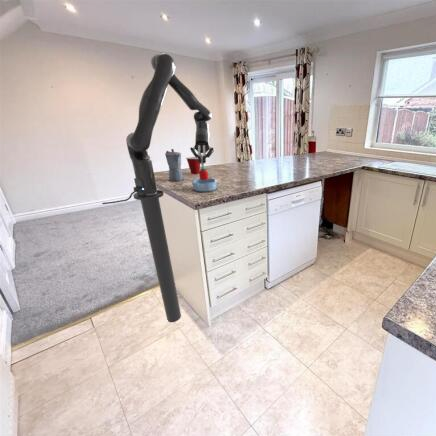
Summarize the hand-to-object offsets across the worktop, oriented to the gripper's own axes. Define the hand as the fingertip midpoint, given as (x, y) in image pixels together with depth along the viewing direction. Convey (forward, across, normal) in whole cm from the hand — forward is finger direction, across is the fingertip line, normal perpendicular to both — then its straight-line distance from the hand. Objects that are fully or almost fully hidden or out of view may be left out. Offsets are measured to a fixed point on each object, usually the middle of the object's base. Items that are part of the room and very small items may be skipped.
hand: (201, 162), depth 139 cm
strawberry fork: (+6, 0, +8) cm, 10 cm away
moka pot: (-6, -21, +29) cm, 37 cm away
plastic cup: (-19, -12, +42) cm, 47 cm away
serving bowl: (+10, 0, +13) cm, 16 cm away
